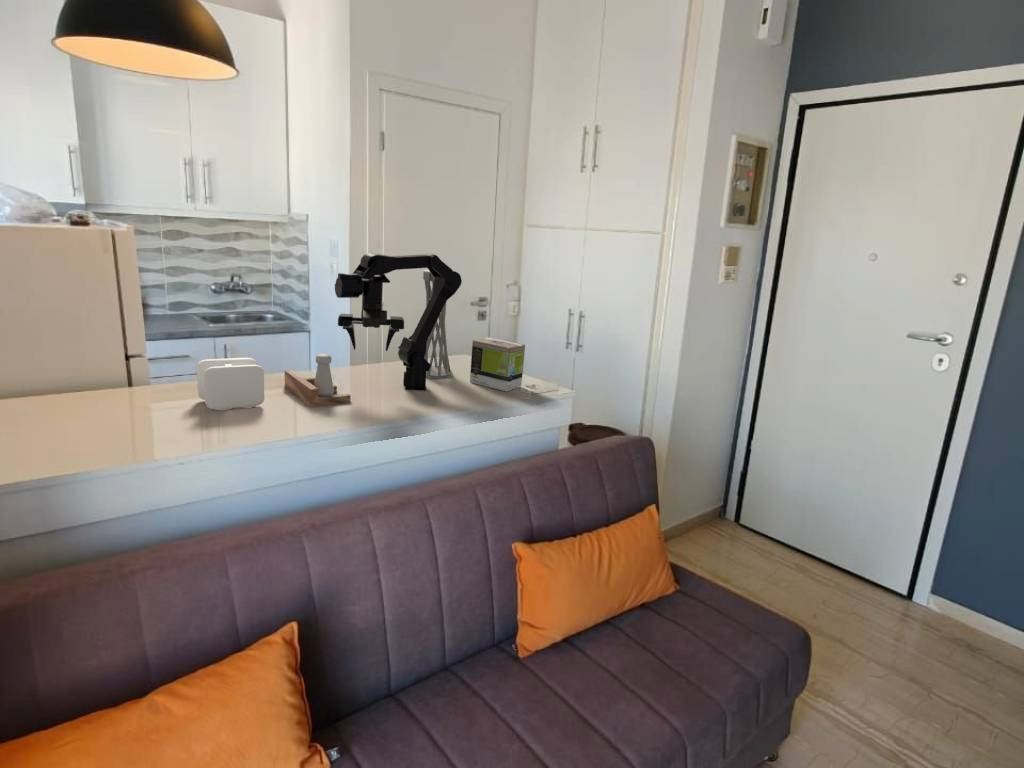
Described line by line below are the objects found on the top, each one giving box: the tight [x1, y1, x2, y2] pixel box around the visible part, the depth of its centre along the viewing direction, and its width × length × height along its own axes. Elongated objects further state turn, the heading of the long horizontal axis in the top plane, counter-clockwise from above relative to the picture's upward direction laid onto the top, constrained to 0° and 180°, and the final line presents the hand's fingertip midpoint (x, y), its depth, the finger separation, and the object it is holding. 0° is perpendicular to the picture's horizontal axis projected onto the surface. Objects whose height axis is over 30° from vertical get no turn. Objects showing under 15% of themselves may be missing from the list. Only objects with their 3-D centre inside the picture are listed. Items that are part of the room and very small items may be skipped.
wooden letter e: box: [284, 369, 351, 408], centre depth 179 cm, size 12×20×5 cm, turn 39°
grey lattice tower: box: [422, 269, 453, 380], centre depth 208 cm, size 14×13×35 cm
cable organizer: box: [196, 357, 265, 411], centre depth 164 cm, size 15×11×12 cm
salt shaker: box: [314, 353, 335, 397], centre depth 174 cm, size 6×6×13 cm
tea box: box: [469, 336, 526, 392], centre depth 204 cm, size 15×10×15 cm, turn 58°
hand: (370, 350), depth 183 cm, fingers open, 9 cm apart
